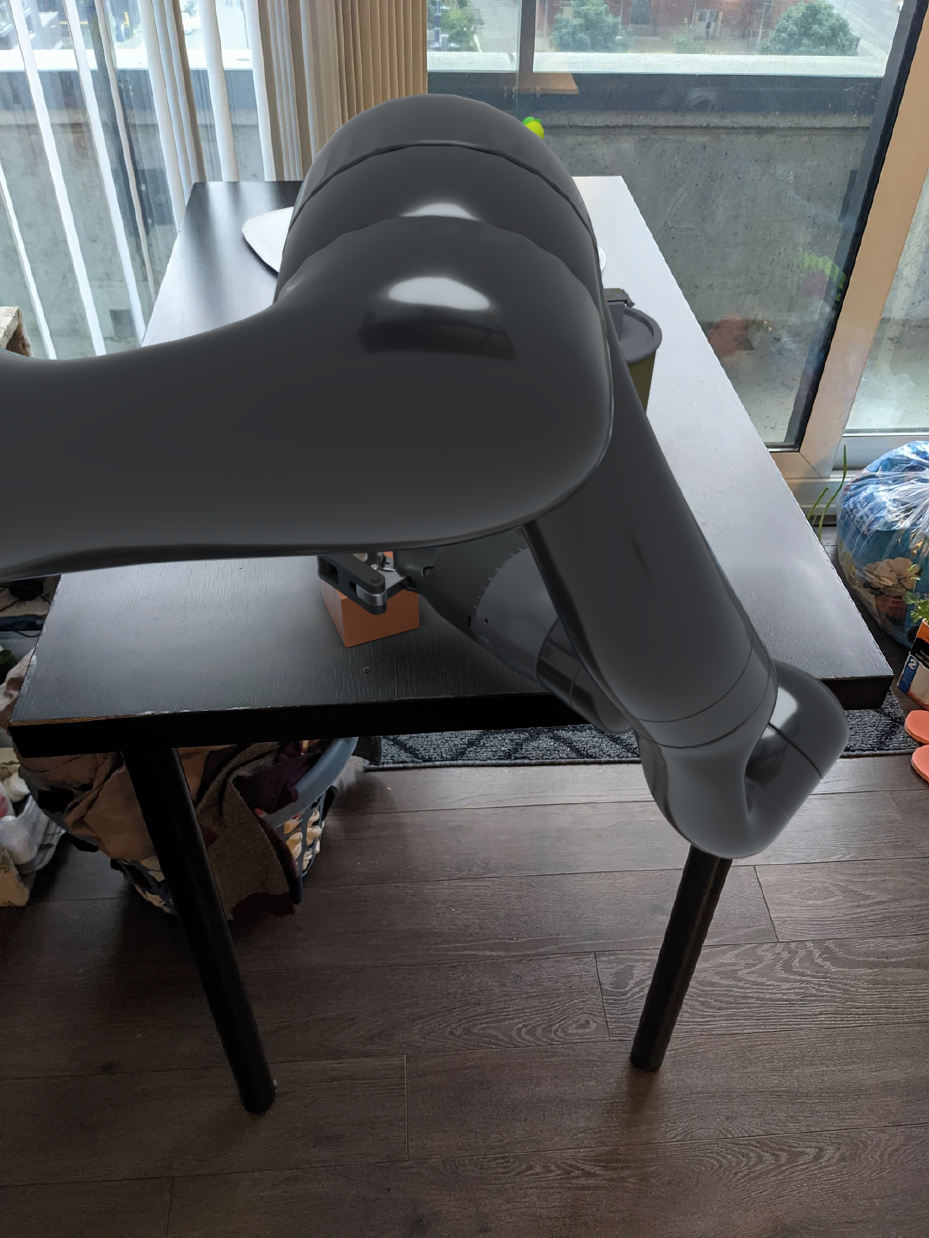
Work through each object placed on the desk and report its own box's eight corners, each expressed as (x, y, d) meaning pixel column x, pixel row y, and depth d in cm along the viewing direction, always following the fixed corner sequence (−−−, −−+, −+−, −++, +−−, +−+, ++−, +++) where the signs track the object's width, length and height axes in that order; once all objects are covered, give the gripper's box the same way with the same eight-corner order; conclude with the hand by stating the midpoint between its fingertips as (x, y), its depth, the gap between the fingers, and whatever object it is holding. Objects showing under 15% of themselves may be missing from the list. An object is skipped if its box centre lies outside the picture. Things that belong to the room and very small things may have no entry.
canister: (614, 473, 89) (644, 263, 76) (647, 541, 82) (687, 322, 68) (500, 482, 88) (510, 270, 74) (523, 552, 80) (539, 331, 67)
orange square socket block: (345, 648, 72) (340, 599, 68) (322, 599, 76) (316, 550, 72) (419, 627, 73) (418, 578, 70) (393, 581, 77) (390, 532, 74)
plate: (228, 228, 132) (226, 216, 131) (395, 201, 141) (394, 189, 140) (288, 299, 116) (286, 285, 115) (472, 263, 124) (472, 250, 123)
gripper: (605, 504, 59) (432, 404, 68) (434, 607, 52) (265, 480, 60) (592, 594, 64) (433, 491, 73) (435, 700, 57) (279, 571, 66)
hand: (357, 486), depth 67 cm, fingers open, 8 cm apart
